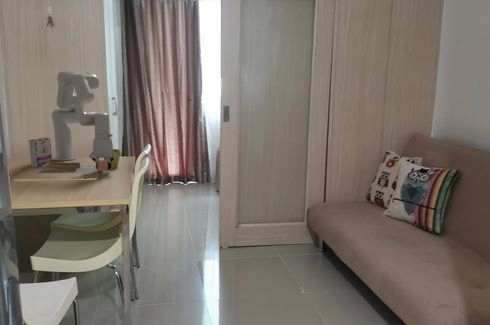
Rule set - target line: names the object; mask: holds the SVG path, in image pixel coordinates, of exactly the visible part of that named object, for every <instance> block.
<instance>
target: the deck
mask: <svg viewBox="0 0 490 325" xmlns="http://www.w3.org/2000/svg"><path fill="white" fill-rule="evenodd" d="M84 167H85V165H80V168H76V171H71V172H43V171H42V169H41V170H40V171H38V172H37V174H75V173H76V174H81V173H84V174H85V173H89V174H90V173H92V174H93V173H96V171H98V170H97V169H96V165H93V166H92V167H85V168H84Z"/></svg>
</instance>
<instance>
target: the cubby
mask: <svg viewBox="0 0 490 325" xmlns="http://www.w3.org/2000/svg"><path fill="white" fill-rule="evenodd" d="M80 166H81V162H52V163H47V164H45V165H43V166H41V168H42V169H41V170H42V171H43V172H71V171H76V168H80Z"/></svg>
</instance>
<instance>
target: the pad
mask: <svg viewBox="0 0 490 325" xmlns="http://www.w3.org/2000/svg"><path fill="white" fill-rule="evenodd" d="M111 174H112V170H108V171H100V173H99V174H98V175H99V176H100V175H101V176H105V175H108V176H109V175H111Z"/></svg>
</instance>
